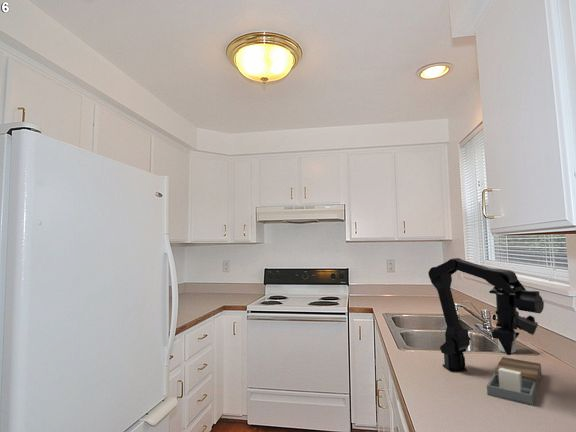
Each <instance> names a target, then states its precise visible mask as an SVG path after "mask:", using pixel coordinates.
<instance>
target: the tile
mask: <svg viewBox="0 0 576 432" xmlns="http://www.w3.org/2000/svg"><path fill="white" fill-rule="evenodd" d="M498 373H499V388H504V389H508V390H513V391H517V392H522V377H521V372H518V371H514V370H509V369H505V368H500V369H499V370H498Z"/></svg>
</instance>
